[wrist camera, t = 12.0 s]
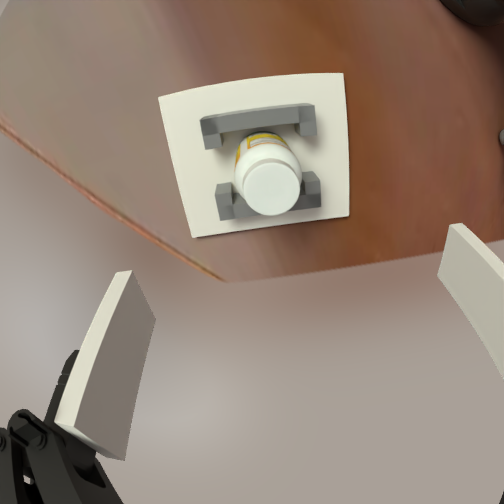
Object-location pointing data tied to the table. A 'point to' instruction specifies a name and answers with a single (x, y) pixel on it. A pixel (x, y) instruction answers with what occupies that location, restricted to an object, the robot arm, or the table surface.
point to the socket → (246, 122)
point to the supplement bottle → (267, 173)
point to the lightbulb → (502, 137)
